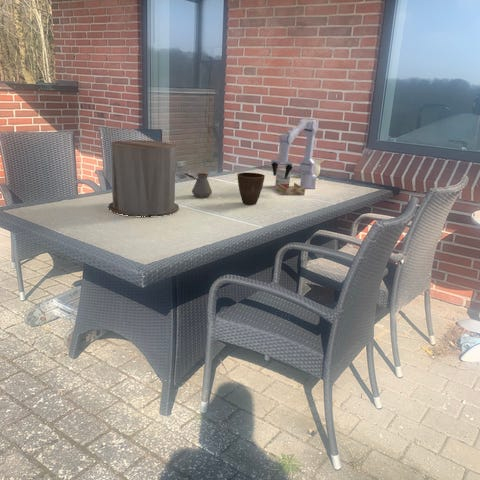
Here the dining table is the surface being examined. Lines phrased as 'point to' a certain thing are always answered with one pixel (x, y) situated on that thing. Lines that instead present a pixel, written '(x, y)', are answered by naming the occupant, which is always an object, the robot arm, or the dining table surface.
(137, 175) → the storage basket
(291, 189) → the pine u-shaped frame
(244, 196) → the plant pot
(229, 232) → the dining table surface
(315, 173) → the pitcher
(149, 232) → the dining table surface
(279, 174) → the ink box
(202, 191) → the coffee pot
